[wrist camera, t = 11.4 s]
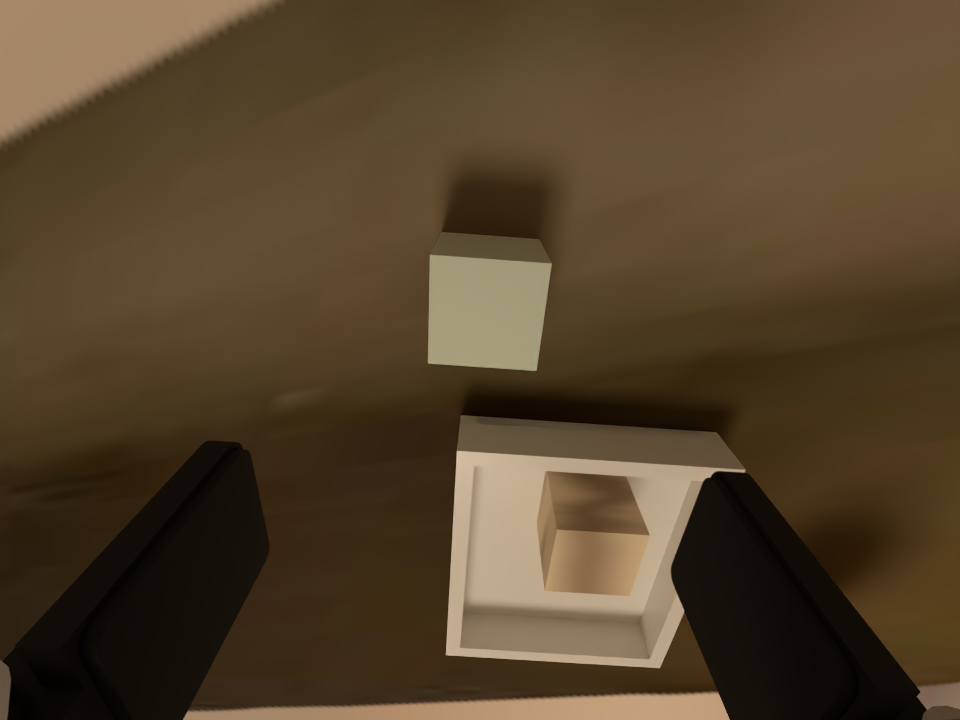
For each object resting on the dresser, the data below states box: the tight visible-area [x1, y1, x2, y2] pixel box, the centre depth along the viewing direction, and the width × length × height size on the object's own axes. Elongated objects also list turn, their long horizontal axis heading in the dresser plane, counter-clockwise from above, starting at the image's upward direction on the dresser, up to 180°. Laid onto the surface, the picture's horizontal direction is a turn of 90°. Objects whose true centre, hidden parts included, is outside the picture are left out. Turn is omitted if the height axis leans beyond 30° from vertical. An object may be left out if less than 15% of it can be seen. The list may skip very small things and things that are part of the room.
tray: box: [446, 415, 745, 668], centre depth 30 cm, size 16×19×4 cm
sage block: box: [428, 232, 552, 371], centre depth 21 cm, size 5×5×5 cm
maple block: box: [537, 471, 650, 596], centre depth 27 cm, size 5×5×5 cm
